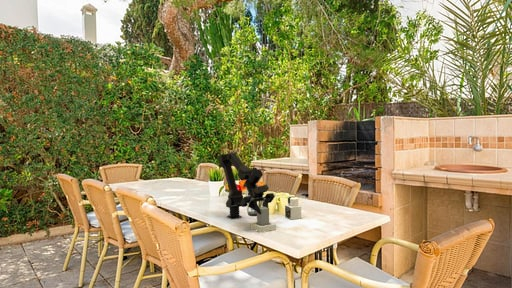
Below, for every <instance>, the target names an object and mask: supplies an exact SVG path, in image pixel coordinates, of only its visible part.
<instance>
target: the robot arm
mask: <svg viewBox="0 0 512 288" xmlns="http://www.w3.org/2000/svg"><path fill="white" fill-rule="evenodd" d="M217 161H218V163H219V166H220V167H221V168H222V169H223V171H224V175H225V176H224V177H225V180H226V184H227V186H228V188H227V189H228V191H229V192H228V194H227V199H226V202H225V207H226V208H228V209H229V214H228V215H227V217H228V218H230V219H239V218H242V216H243V215H240V207H242V208H245V207H248V208H250V209H252V210H253V211H255V213H256V214H257V213H259V214H261V211H260V209H259V207H260V206H259V205H258V202H262V203H261V207H267V208H269V204H270V203H272V202H273V201H274V199H275V197H276V196H275V193H273V192H269V193H267V191H269V186H268V184H266V183H265V184H263V185H260V186H258V185H257V184H258V183H259V182H260V180H261V179H262V177H263V174H264V173H263V171H262V170H261V169H258V168H257V167H252V169H251V168H250V167H248V166H246V165H245V164H244V163H243V162H242V161H241V159H240V158H239V157H238V155H237V153H236V152H228V153H221V154H219V156H217ZM233 167H234V168H235V170H236V171H237V177H238V178H239V180H240V181H244V182H243V188H246V191H247V196H244V195H243V192H242V190H241V189H240V190H239V188H238V186H237V183H236V178H235V175H234V171H233ZM264 193H266V194H264ZM264 195H265V196H264Z"/></svg>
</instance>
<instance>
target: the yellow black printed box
mask: <svg viewBox="0 0 512 288" xmlns="http://www.w3.org/2000/svg"><path fill="white" fill-rule="evenodd" d="M284 217H285V218H287V219H289V220H297V219H302V205H300V204H299V197H297V196H289V197H287V204H285V205H284Z"/></svg>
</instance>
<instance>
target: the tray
mask: <svg viewBox="0 0 512 288" xmlns="http://www.w3.org/2000/svg"><path fill="white" fill-rule="evenodd" d="M251 228H252V229H251ZM250 229H251V230H253V231H256V230H257V231H256V232H258V231H259V232H258V233H260V232H262V233H265V232H264V231H267V232H271V231H270V230H272V231H276V230H277V229H276V223H274V222H271V221H269V225H265V226H259V225H257V221H255V222H254V221H253V222H251V223H250Z"/></svg>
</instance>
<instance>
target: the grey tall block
mask: <svg viewBox="0 0 512 288" xmlns="http://www.w3.org/2000/svg"><path fill="white" fill-rule="evenodd" d="M258 207H259V209H260V211H261V214H259V213H257V212H256V222H257V225H259V226H265V225H269V222H270V208H269V207H268V208H267V207H263V206H258Z"/></svg>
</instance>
